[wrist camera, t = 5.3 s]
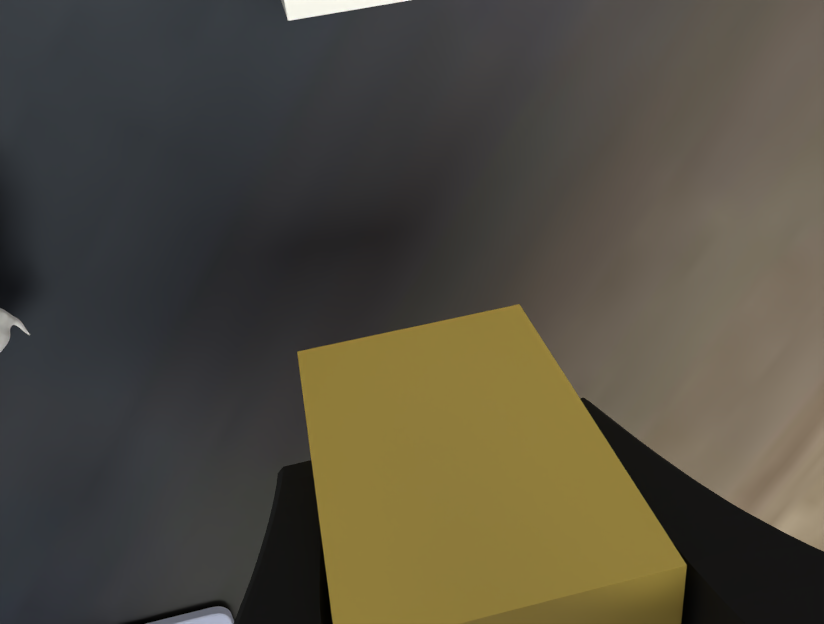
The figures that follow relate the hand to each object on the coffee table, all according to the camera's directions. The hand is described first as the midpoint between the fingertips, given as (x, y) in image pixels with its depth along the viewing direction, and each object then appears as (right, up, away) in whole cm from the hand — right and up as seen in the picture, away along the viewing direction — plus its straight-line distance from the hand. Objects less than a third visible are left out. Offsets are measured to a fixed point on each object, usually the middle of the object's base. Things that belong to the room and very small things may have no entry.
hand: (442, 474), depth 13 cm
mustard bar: (0, +1, +1) cm, 2 cm away
